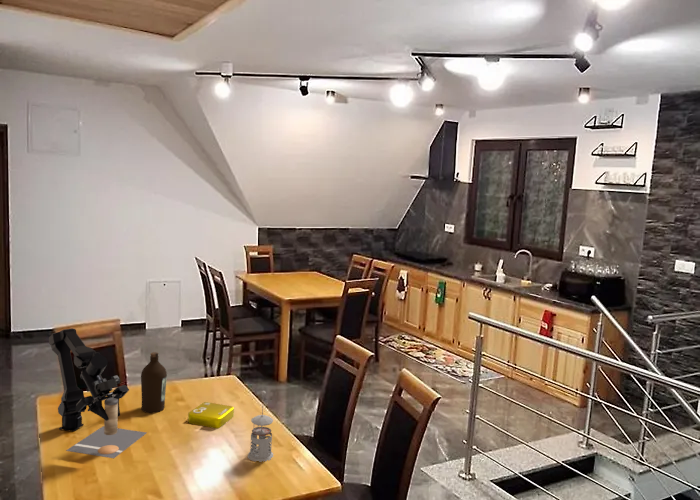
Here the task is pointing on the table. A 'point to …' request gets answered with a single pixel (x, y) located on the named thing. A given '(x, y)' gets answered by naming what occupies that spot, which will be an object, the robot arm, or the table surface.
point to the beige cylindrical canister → (111, 416)
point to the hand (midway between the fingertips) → (113, 418)
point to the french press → (261, 438)
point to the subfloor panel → (107, 442)
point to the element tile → (211, 415)
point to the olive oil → (153, 385)
